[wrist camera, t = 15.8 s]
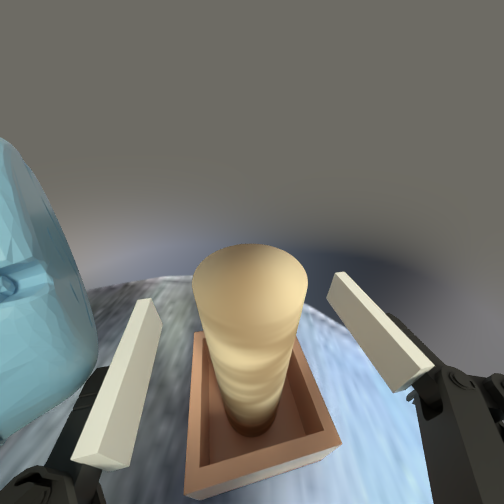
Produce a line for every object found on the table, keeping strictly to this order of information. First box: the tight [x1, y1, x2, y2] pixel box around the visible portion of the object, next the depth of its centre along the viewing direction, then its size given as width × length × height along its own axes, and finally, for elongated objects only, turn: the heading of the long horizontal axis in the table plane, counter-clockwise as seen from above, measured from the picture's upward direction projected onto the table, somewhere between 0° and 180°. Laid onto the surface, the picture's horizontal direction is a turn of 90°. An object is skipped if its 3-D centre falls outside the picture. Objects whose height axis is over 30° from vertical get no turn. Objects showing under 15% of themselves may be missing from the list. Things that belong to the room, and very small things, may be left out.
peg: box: [192, 244, 308, 437], centre depth 13 cm, size 5×5×16 cm
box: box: [184, 331, 342, 501], centre depth 16 cm, size 10×10×6 cm
